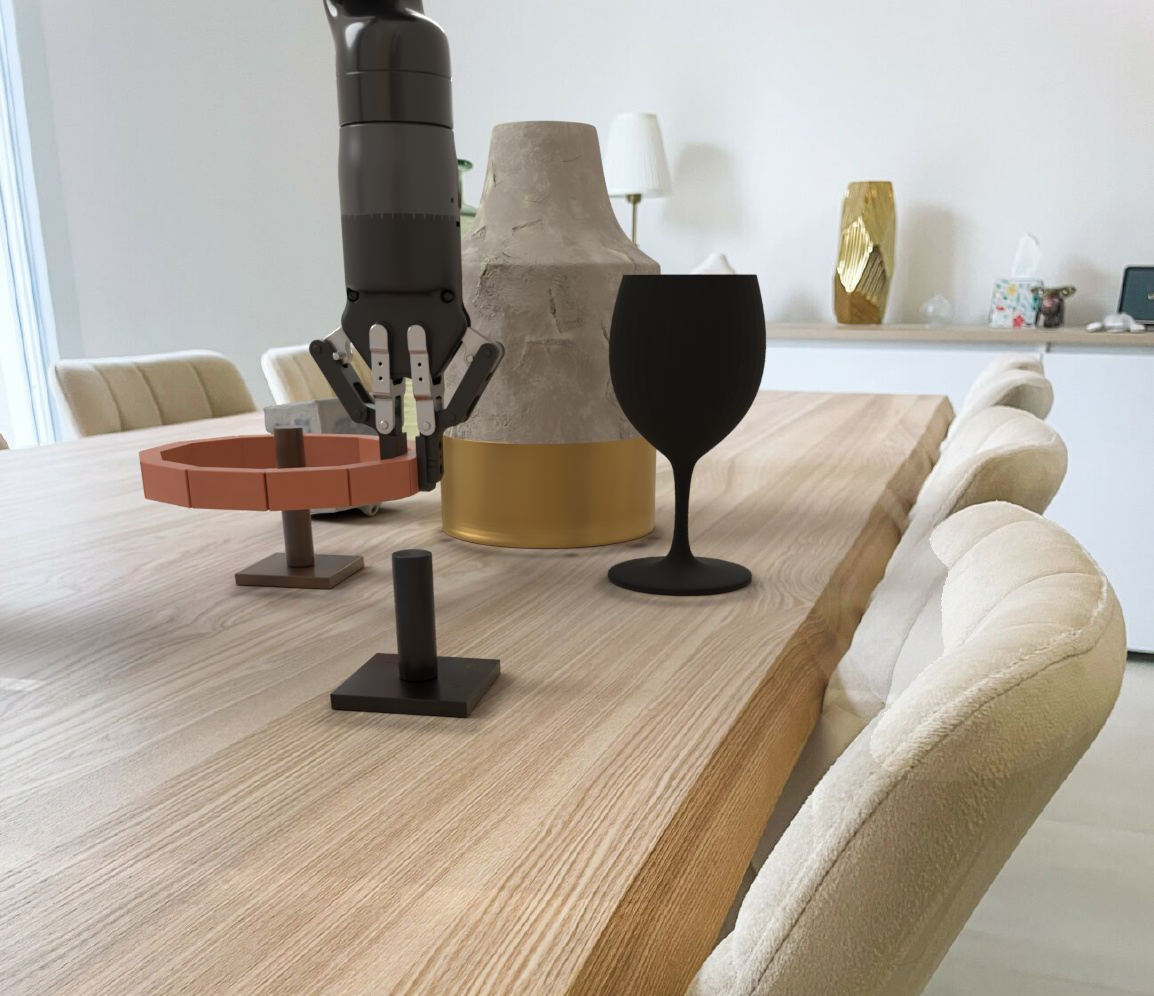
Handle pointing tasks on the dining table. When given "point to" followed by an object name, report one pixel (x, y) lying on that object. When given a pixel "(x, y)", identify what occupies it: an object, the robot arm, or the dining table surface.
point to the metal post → (416, 657)
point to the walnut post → (297, 536)
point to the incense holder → (320, 429)
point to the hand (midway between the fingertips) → (413, 488)
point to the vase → (546, 355)
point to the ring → (276, 473)
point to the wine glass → (685, 397)
